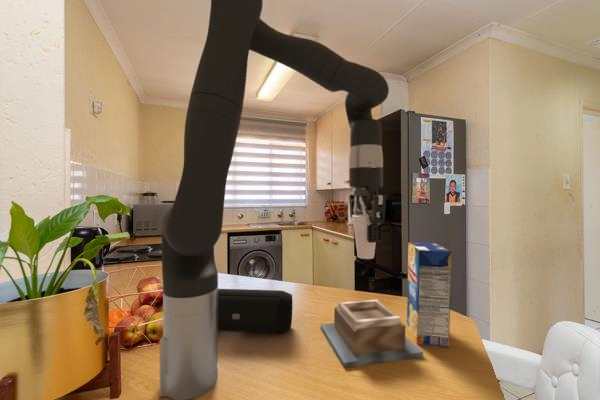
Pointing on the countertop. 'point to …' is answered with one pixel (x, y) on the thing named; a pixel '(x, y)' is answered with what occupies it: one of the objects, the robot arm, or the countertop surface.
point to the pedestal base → (366, 357)
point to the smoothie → (362, 237)
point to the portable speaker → (254, 310)
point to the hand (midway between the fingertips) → (365, 239)
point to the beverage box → (429, 293)
